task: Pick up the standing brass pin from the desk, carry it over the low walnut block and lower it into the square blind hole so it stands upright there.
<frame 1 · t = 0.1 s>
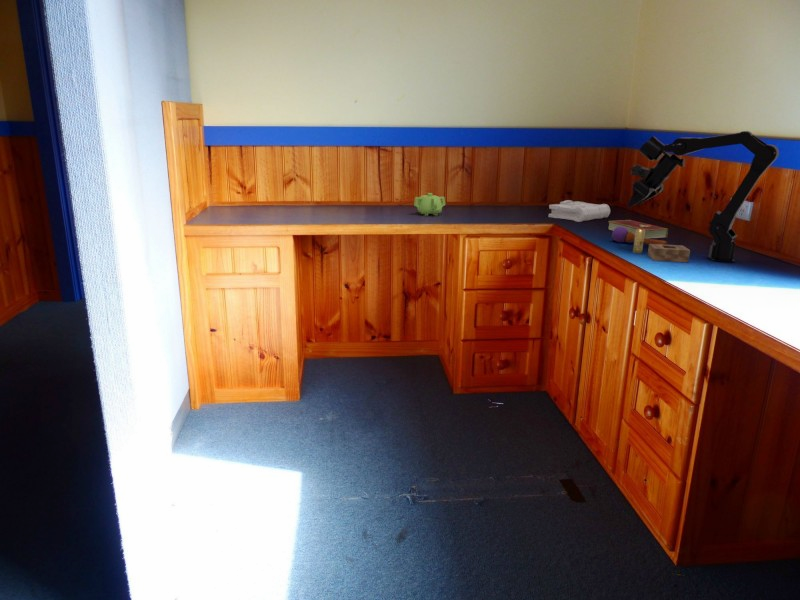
hand: (632, 205, 221), 15 cm above the table, tool tilted 35°, fingers open, 9 cm apart
teapot: (429, 215, 284), on the table
brass pin: (637, 252, 216), on the table
bore block: (667, 258, 207), on the table
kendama: (637, 246, 229), on the table
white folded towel: (580, 218, 289), on the table
hardcover book: (636, 234, 252), on the table
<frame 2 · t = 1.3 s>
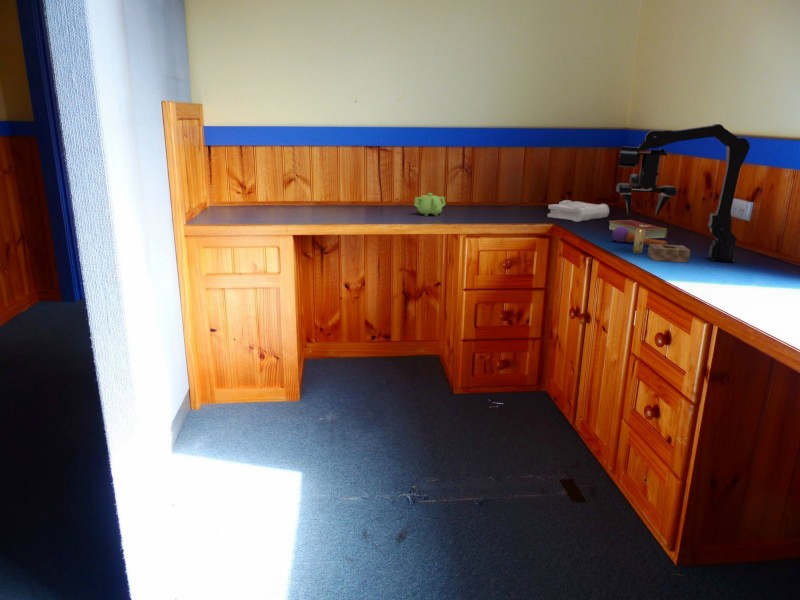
hand: (642, 214, 212), 13 cm above the table, tool pointing down, fingers open, 9 cm apart
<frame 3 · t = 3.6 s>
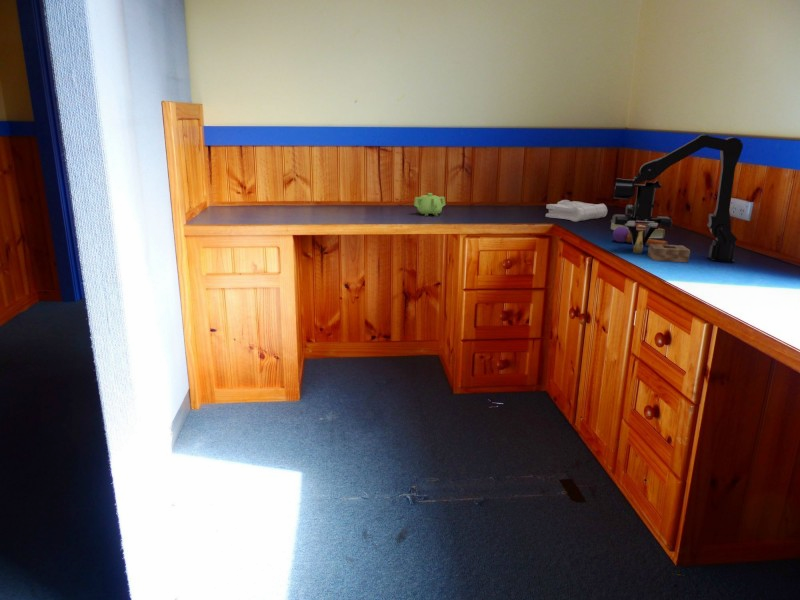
hand: (638, 245, 215), 3 cm above the table, tool pointing down, fingers closed on brass pin, 3 cm apart
brass pin: (637, 252, 216), on the table, touching gripper
when the fingers open (5 cm above the table, at t = 7.2 s): brass pin drops 1 cm, resting on bore block.
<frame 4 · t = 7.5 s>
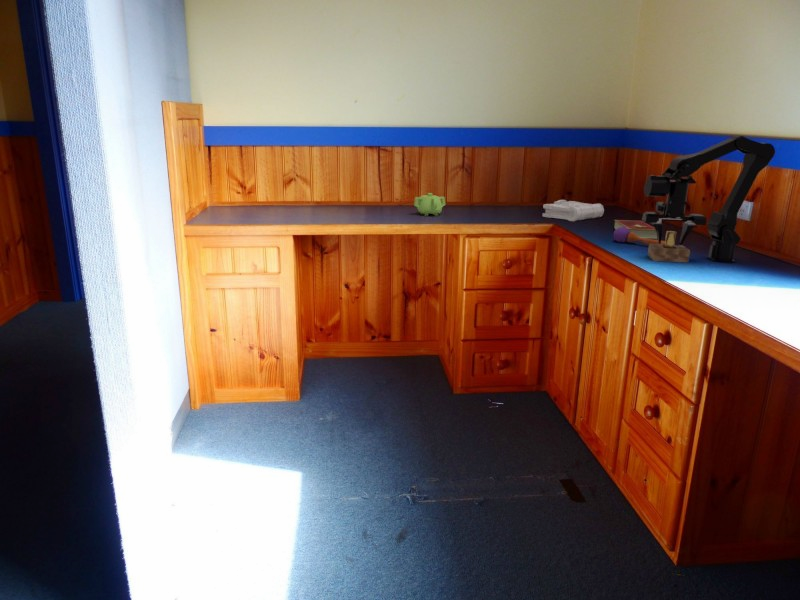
hand: (669, 244, 206), 5 cm above the table, tool pointing down, fingers open, 6 cm apart
brass pin: (668, 255, 207), point 1 cm above the table, touching bore block
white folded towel: (574, 217, 290), on the table
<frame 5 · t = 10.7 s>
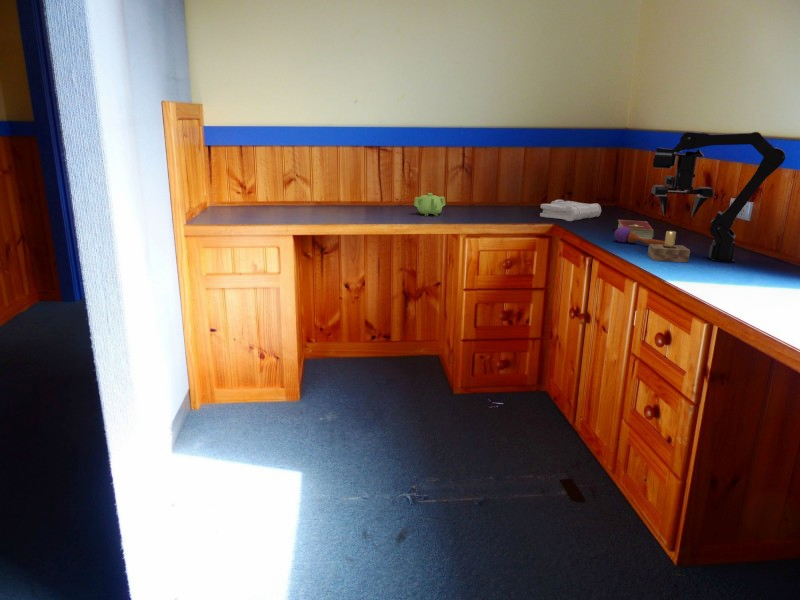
hand: (678, 216, 212), 13 cm above the table, tool pointing down, fingers open, 9 cm apart
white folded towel: (572, 217, 290), on the table
at the end: brass pin 0.0 cm off-centre on the bore block, point 1.1 cm above the bore block's base; brass pin tilted 2°; the gripper is holding nothing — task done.
